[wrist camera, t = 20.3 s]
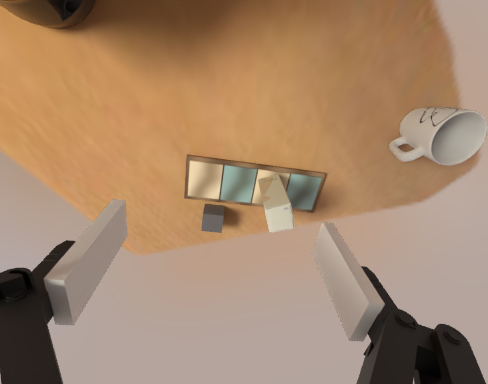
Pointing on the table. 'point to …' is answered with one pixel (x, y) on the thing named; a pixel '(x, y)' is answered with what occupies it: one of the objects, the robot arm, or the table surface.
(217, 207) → the cube
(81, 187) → the table surface
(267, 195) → the box
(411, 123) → the mug
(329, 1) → the table surface
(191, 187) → the track
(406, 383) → the robot arm
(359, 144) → the table surface
